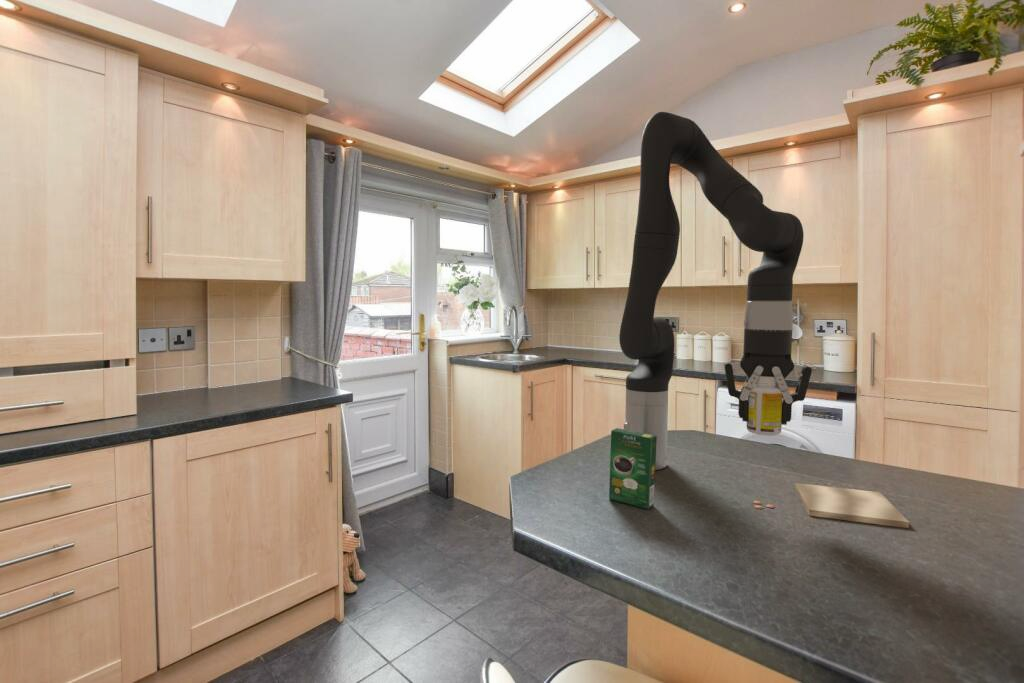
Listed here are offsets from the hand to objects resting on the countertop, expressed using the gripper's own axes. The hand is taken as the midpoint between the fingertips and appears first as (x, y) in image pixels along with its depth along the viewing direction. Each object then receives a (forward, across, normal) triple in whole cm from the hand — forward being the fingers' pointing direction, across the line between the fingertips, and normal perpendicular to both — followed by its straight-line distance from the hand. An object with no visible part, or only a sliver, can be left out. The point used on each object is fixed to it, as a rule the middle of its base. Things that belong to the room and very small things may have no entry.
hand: (764, 421), depth 88 cm
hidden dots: (+15, 0, 0) cm, 15 cm away
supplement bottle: (+2, 0, 0) cm, 2 cm away
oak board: (+15, +14, +5) cm, 21 cm away
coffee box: (+15, -22, -7) cm, 28 cm away
